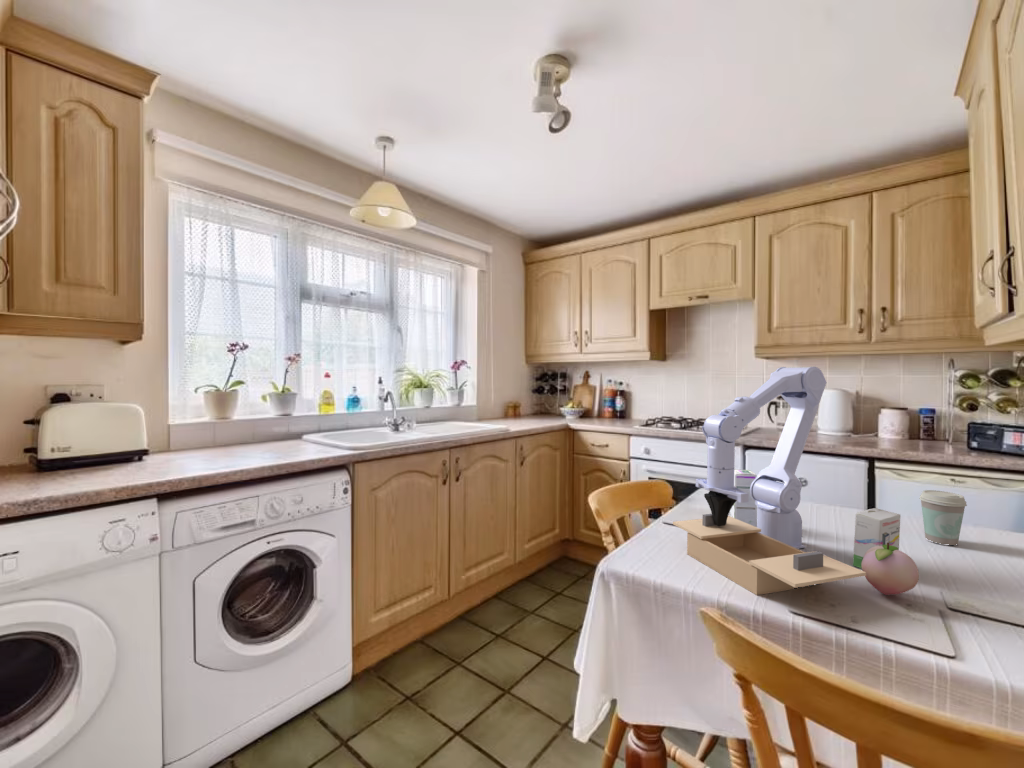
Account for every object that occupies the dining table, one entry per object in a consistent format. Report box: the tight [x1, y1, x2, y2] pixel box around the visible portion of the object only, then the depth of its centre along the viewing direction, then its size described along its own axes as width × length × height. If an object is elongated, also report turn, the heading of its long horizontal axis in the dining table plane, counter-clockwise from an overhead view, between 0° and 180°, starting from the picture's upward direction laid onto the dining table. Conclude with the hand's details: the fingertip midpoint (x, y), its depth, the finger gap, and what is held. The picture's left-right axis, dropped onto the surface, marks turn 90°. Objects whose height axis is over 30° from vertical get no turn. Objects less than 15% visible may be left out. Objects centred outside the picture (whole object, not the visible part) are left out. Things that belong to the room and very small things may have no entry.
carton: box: [686, 532, 822, 596], centre depth 97 cm, size 16×20×5 cm
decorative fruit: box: [861, 542, 920, 596], centre depth 85 cm, size 9×8×10 cm
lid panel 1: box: [672, 513, 761, 539], centre depth 106 cm, size 16×10×3 cm, turn 106°
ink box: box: [852, 507, 901, 569], centre depth 98 cm, size 9×5×12 cm, turn 117°
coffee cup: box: [919, 489, 968, 545], centre depth 112 cm, size 8×9×12 cm
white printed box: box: [729, 468, 758, 527], centre depth 126 cm, size 6×6×14 cm
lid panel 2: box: [749, 550, 866, 588], centre depth 84 cm, size 16×10×3 cm, turn 106°
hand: (719, 525), depth 105 cm, fingers closed
